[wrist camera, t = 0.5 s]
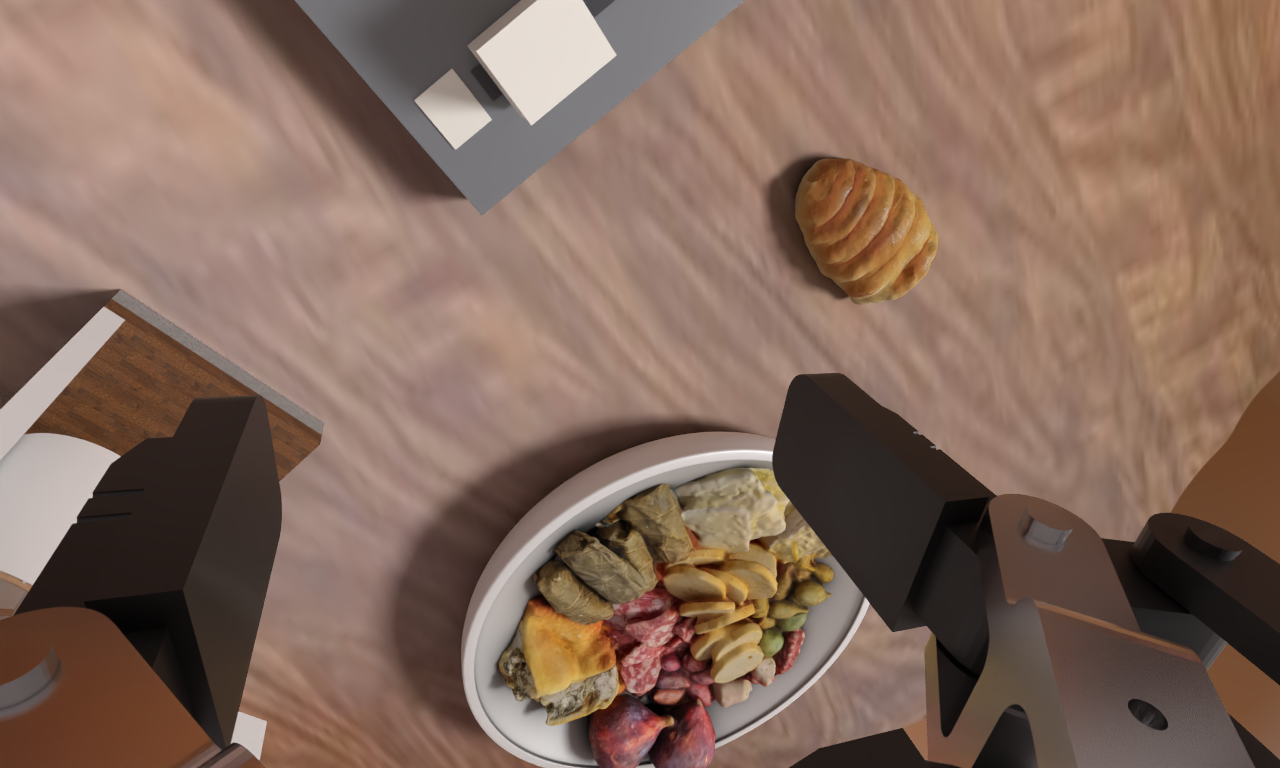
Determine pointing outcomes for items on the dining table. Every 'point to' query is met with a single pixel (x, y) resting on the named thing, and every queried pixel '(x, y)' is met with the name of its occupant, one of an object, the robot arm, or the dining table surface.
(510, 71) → the on slider
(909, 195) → the pastry
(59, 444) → the white upright stand
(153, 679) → the robot arm
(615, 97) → the switch panel
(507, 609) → the bowl
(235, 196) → the dining table surface
